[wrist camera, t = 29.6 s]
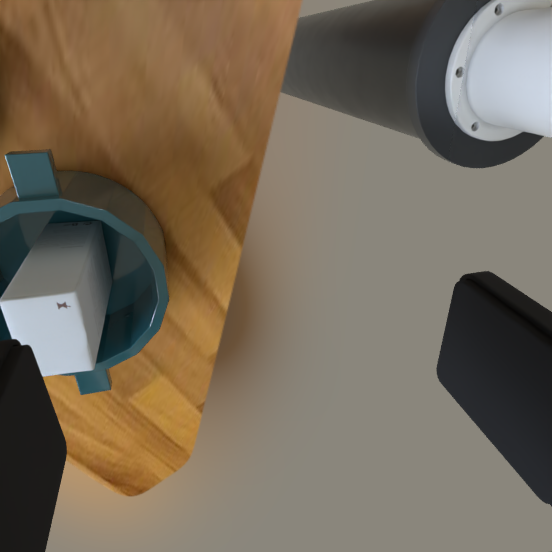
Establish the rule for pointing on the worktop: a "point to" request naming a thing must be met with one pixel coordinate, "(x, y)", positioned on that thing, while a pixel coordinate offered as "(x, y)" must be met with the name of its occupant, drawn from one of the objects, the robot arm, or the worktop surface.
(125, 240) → the pot
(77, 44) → the worktop surface
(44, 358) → the cosmetic box
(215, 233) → the worktop surface
